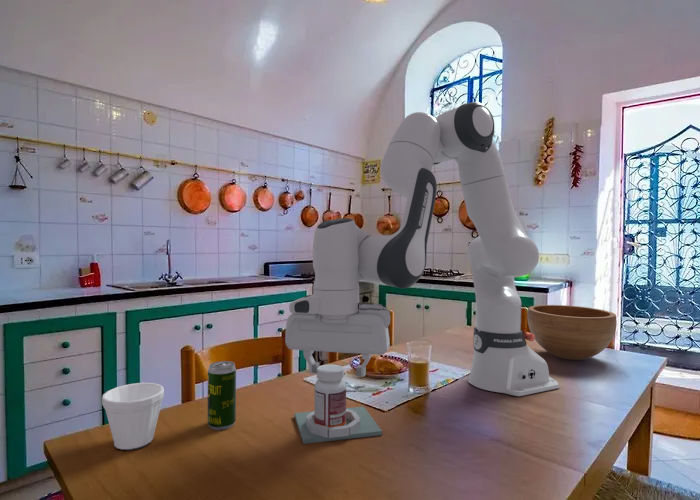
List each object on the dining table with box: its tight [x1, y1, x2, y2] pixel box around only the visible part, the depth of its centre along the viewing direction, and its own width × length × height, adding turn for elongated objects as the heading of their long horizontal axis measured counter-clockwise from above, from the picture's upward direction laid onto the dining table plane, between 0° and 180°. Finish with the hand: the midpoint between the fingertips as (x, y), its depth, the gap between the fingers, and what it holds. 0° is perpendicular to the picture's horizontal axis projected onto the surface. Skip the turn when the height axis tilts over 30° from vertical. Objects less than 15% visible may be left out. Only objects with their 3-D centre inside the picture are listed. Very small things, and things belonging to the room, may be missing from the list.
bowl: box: [527, 304, 617, 361], centre depth 136 cm, size 25×25×15 cm
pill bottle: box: [313, 363, 347, 427], centre depth 83 cm, size 6×6×11 cm
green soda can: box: [207, 360, 237, 431], centre depth 84 cm, size 5×5×12 cm
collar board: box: [294, 406, 383, 445], centre depth 85 cm, size 15×12×2 cm
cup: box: [101, 382, 165, 451], centre depth 77 cm, size 10×10×9 cm
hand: (337, 374), depth 83 cm, fingers open, 8 cm apart
